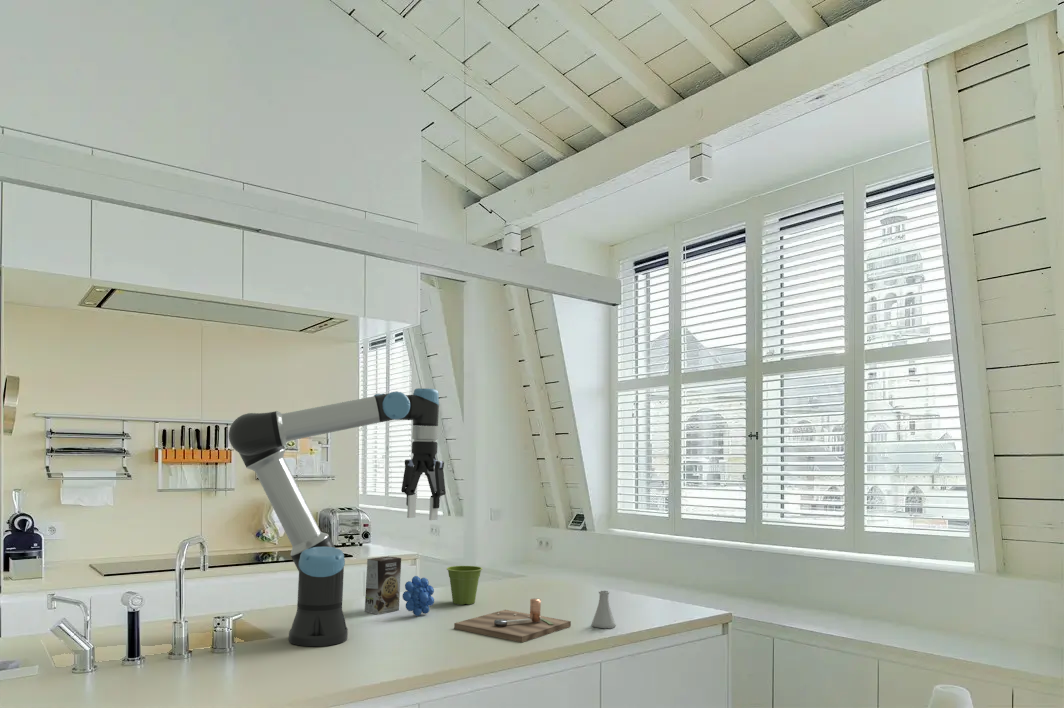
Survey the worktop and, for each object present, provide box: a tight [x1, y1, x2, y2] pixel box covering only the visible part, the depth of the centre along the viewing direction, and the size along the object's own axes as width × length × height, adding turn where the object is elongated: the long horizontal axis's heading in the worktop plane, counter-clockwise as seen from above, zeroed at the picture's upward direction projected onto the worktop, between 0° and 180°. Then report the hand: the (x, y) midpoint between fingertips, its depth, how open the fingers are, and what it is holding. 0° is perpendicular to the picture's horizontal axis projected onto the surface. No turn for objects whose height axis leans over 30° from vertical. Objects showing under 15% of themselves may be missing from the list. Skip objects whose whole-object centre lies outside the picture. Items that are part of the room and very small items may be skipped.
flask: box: [591, 590, 616, 629], centre depth 240 cm, size 7×7×10 cm
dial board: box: [453, 609, 572, 643], centre depth 235 cm, size 24×24×2 cm
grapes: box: [402, 575, 435, 617], centre depth 247 cm, size 12×7×12 cm, turn 134°
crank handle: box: [494, 597, 542, 626], centre depth 233 cm, size 15×4×6 cm, turn 117°
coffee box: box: [364, 556, 402, 615], centre depth 254 cm, size 9×6×16 cm
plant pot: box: [446, 565, 483, 606], centre depth 268 cm, size 12×12×11 cm
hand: (422, 518), depth 239 cm, fingers open, 8 cm apart
